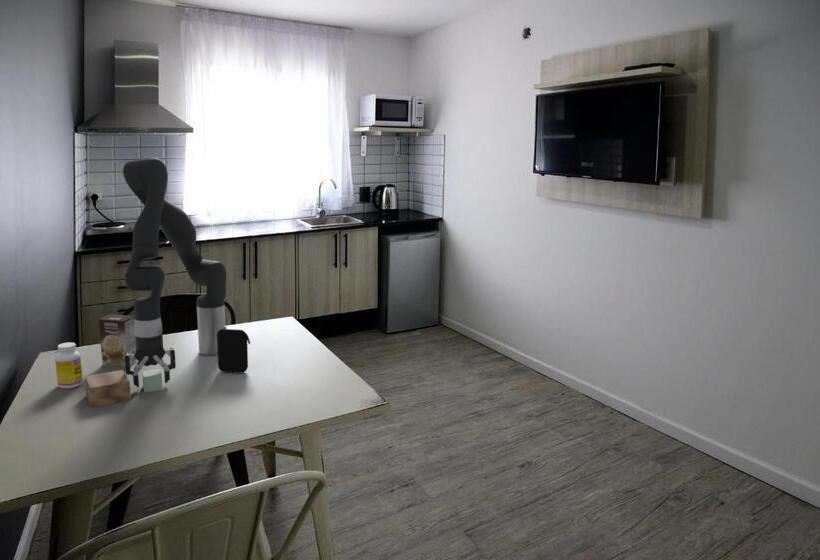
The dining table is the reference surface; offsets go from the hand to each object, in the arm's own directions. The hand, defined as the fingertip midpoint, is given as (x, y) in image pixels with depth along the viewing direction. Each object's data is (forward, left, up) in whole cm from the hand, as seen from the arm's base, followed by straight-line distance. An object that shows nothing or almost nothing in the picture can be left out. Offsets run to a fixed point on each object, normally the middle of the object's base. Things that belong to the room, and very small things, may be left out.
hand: (152, 384), depth 177 cm
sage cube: (0, 0, -1) cm, 1 cm away
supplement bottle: (+22, -12, -2) cm, 25 cm away
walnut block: (+12, +2, -2) cm, 12 cm away
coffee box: (+8, -26, -2) cm, 27 cm away
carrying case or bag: (-25, -3, -2) cm, 25 cm away
